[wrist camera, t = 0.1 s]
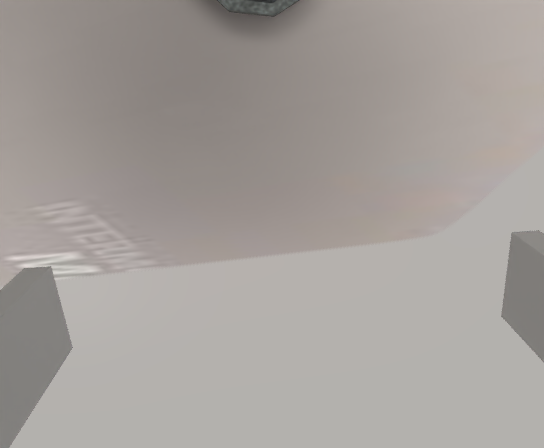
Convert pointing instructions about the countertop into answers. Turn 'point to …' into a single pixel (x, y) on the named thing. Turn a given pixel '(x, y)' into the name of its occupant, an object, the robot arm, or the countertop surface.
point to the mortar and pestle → (257, 6)
